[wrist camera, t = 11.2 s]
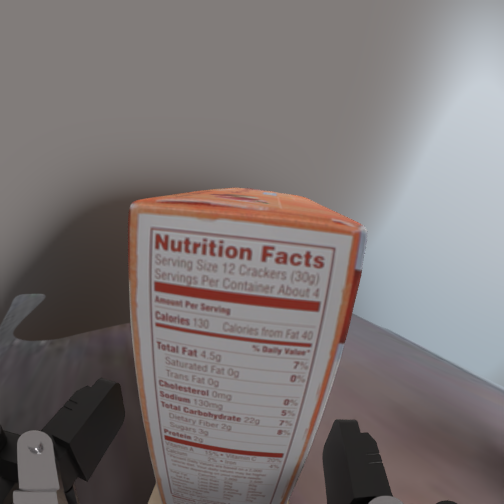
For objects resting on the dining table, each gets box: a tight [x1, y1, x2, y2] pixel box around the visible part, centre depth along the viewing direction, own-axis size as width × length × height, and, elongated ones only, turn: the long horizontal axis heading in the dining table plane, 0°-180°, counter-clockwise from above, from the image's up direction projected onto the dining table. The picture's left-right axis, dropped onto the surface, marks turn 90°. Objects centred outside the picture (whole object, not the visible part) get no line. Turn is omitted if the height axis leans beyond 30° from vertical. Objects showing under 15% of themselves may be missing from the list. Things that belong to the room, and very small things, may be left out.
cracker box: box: [128, 188, 367, 504], centre depth 15 cm, size 14×6×21 cm, turn 176°
